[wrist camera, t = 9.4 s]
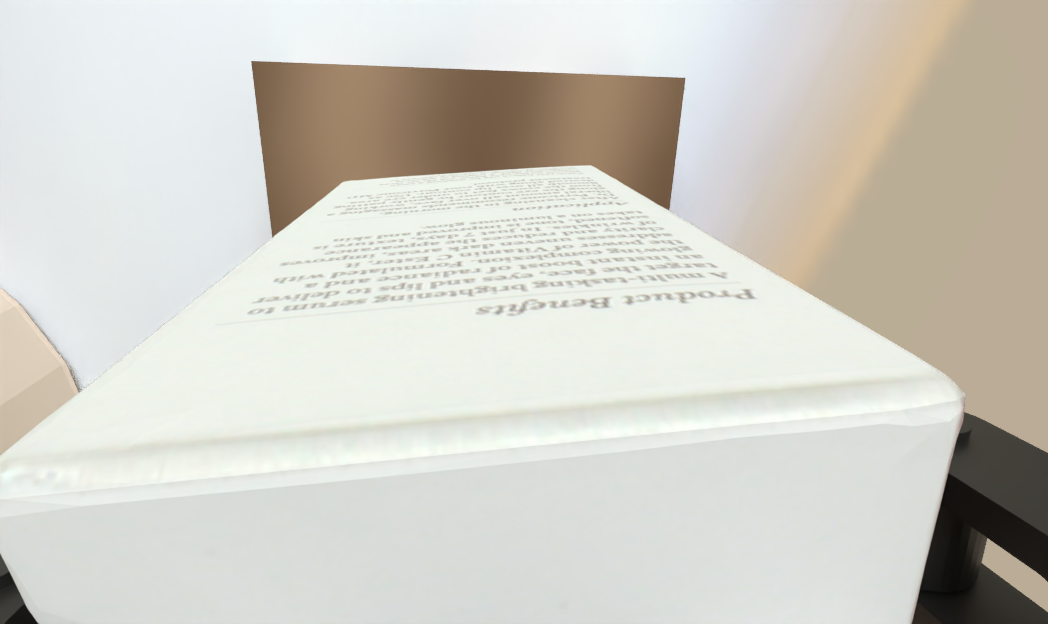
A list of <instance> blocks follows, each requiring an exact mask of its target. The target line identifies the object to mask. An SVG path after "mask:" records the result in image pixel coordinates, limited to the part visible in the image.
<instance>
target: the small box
mask: <svg viewBox="0 0 1048 624" xmlns="http://www.w3.org/2000/svg"><path fill="white" fill-rule="evenodd" d="M964 406H965V394H964V393H963V392H962V391H961V389H960V388H959V387H958V386H957V385H956V384H955V383H954V382H953V381H952V380H951V379H950V378H949V377H948V376H947V375H945V374H944V373H942V372H941V371H939V370H938V369H936V368H934V367H933V366H931V365H930V364H928V363H926V362H924V361H923V360H922V359H920V358H918V357H916V356H915V355H913V354H911V353H910V352H908V351H906V350H905V349H903V348H901V347H899V346H898V345H896V344H894V343H893V342H891V341H889V340H887V339H886V338H884V337H882V336H881V335H879V334H877V333H876V332H874V331H872V330H870V329H869V328H867V327H865V326H864V325H862V324H860V323H859V322H857V321H855V320H854V319H852V318H850V317H849V316H847V315H845V314H844V313H842V312H840V311H838V310H837V309H835V308H834V307H832V306H830V305H828V304H827V303H825V302H823V301H821V300H820V299H818V298H816V297H814V296H813V295H811V294H809V293H807V292H806V291H804V290H802V289H800V288H799V287H797V286H795V285H794V284H792V283H790V282H789V281H787V280H785V279H784V278H782V277H780V276H779V275H777V274H775V273H773V272H772V271H770V270H768V269H766V268H765V267H763V266H761V265H759V264H757V263H756V262H754V261H752V260H751V259H749V258H747V257H746V256H744V255H742V254H741V253H739V252H737V251H736V250H734V249H732V248H731V247H729V246H727V245H726V244H724V243H722V242H721V241H719V240H717V239H716V238H714V237H712V236H711V235H709V234H707V233H706V232H704V231H703V230H701V229H699V228H698V227H696V226H695V225H693V224H691V223H689V222H687V221H685V220H683V219H682V218H680V217H678V216H677V215H675V214H674V213H672V212H671V211H669V210H667V209H665V208H663V207H662V206H660V205H658V204H656V203H655V202H653V201H651V200H650V199H648V198H646V197H645V196H643V195H641V194H640V193H638V192H636V191H634V190H633V189H631V188H629V187H628V186H626V185H624V184H623V183H621V182H619V181H618V180H616V179H614V178H612V177H610V176H609V175H607V174H605V173H604V172H602V171H600V170H599V169H597V168H595V167H593V166H591V165H587V166H561V167H541V168H524V169H507V170H493V171H480V172H464V173H449V174H434V175H419V176H404V177H390V178H379V179H367V180H352V181H345V182H342V183H341V184H340V185H339V186H337V187H336V188H335V189H334V190H332V191H331V192H330V193H329V194H328V195H326V196H325V197H324V198H323V199H321V200H320V201H318V202H317V203H316V204H315V205H314V206H313V207H311V208H310V209H309V210H307V211H306V212H304V213H303V214H302V215H301V216H300V217H298V218H297V219H296V220H295V221H293V222H292V223H291V224H289V225H288V226H287V227H286V228H284V229H283V230H282V231H280V232H279V233H277V234H276V235H275V236H274V237H273V238H272V239H271V240H269V241H268V242H266V243H265V244H264V245H263V246H261V247H260V248H259V249H258V250H257V251H256V252H254V253H253V254H252V255H251V256H250V257H248V258H247V259H246V260H245V261H243V262H242V263H241V264H239V265H238V266H237V267H235V268H234V269H232V270H231V271H230V272H229V273H228V274H227V275H225V276H224V277H223V278H222V279H221V280H220V281H218V282H217V283H215V284H214V285H212V286H211V287H210V288H209V289H208V290H206V291H205V292H204V293H203V294H201V295H200V296H199V297H198V298H196V299H195V300H194V301H193V302H191V303H190V304H189V305H188V306H186V307H185V308H184V309H183V310H182V311H180V312H179V313H178V314H177V315H176V316H175V317H173V318H172V319H171V320H169V321H168V322H166V323H165V324H163V325H162V326H161V327H160V328H159V329H158V330H157V331H156V332H155V333H154V334H152V335H151V336H150V337H148V338H147V339H146V340H144V341H143V342H141V343H140V344H139V345H138V346H137V347H136V348H134V349H133V350H132V351H131V352H129V353H128V354H127V355H126V356H124V357H123V358H122V359H120V360H119V361H118V362H117V363H115V364H114V365H113V366H112V367H110V368H109V369H108V370H106V371H105V372H104V373H103V374H102V375H100V376H99V377H98V378H97V379H96V380H95V381H94V382H92V383H91V384H90V385H88V386H87V387H86V388H85V389H83V390H82V391H81V392H79V393H78V394H77V395H75V396H74V397H73V398H72V399H70V400H69V401H68V402H66V403H65V404H64V405H63V406H61V407H60V408H59V409H57V410H56V411H55V412H53V413H52V414H51V415H50V416H48V417H47V418H46V419H44V420H43V421H42V422H41V423H39V424H38V425H37V426H36V427H35V428H33V429H32V430H31V431H30V432H29V433H27V434H26V435H25V436H24V437H22V438H21V439H20V440H19V441H18V442H16V443H15V444H14V445H13V446H11V447H10V448H9V449H8V450H7V451H5V452H4V453H3V454H2V455H1V456H0V554H1V556H2V558H3V560H4V562H5V564H6V566H7V568H8V570H9V572H10V574H11V576H12V578H13V580H14V582H15V584H16V586H17V588H18V590H19V592H20V594H21V596H22V598H23V600H24V602H25V605H26V607H27V608H28V610H29V611H30V613H31V614H32V615H33V617H34V618H35V620H36V621H37V622H38V624H912V620H913V616H914V612H915V608H916V603H917V599H918V594H919V590H920V586H921V581H922V577H923V573H924V568H925V564H926V560H927V556H928V552H929V548H930V544H931V540H932V536H933V532H934V528H935V524H936V520H937V516H938V512H939V508H940V504H941V500H942V496H943V492H944V488H945V484H946V480H947V476H948V472H949V468H950V464H951V460H952V456H953V452H954V448H955V444H956V440H957V437H958V434H959V431H960V429H961V426H962V423H963V417H964Z"/></svg>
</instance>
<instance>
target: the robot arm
mask: <svg viewBox="0 0 1048 624" xmlns="http://www.w3.org/2000/svg"><path fill="white" fill-rule="evenodd" d="M987 538H989V539H990V540H991V541H993V542H994V543H996V544H997V545H998V546H1000V547H1001V548H1003V549H1004V550H1006V551H1007V552H1008V553H1010V554H1011V555H1013V556H1014V557H1016V558H1017V559H1019V560H1020V561H1021V562H1023V563H1024V564H1026V565H1027V566H1029V567H1030V568H1032V569H1033V570H1035V571H1036V572H1037V573H1038V574H1040V575H1041V576H1042V577H1043V578H1045V580H1046V581H1047V582H1048V453H1047V452H1045V451H1043V450H1041V449H1039V448H1037V447H1035V446H1033V445H1031V444H1029V443H1027V442H1025V441H1023V440H1021V439H1019V438H1017V437H1015V436H1014V435H1012V434H1010V433H1007V432H1006V431H1004V430H1002V429H1000V428H998V427H996V426H994V425H992V424H990V423H988V422H986V421H984V420H982V419H980V418H978V417H976V416H973V415H970V414H968V413H965V412H964V417H963V423H962V426H961V429H960V431H959V434H958V437H957V440H956V444H955V448H954V452H953V456H952V460H951V464H950V468H949V472H948V476H947V480H946V484H945V488H944V492H943V496H942V500H941V504H940V508H939V512H938V516H937V520H936V524H935V528H934V532H933V536H932V540H931V544H930V548H929V552H928V556H927V560H926V564H925V568H924V573H923V577H922V581H921V586H920V590H919V594H918V599H917V603H916V608H915V612H914V616H913V620H912V624H1048V612H1047V611H1045V610H1044V609H1043V608H1041V607H1040V606H1038V605H1037V604H1036V603H1035V602H1033V601H1032V600H1030V599H1029V598H1028V597H1026V596H1025V595H1024V594H1022V593H1021V592H1020V591H1018V590H1017V589H1016V588H1014V587H1013V586H1011V585H1010V584H1009V583H1008V582H1006V581H1005V580H1003V579H1002V578H1001V577H999V576H998V575H997V574H995V573H994V572H993V571H991V570H990V569H989V568H987V567H986V566H985V565H983V564H982V563H981V562H982V558H983V554H984V549H985V545H986V541H987ZM0 624H38V622H37V621H36V620H35V618H34V617H33V615H32V614H31V613H30V611H29V610H28V608H27V607H26V605H25V602H24V600H23V598H22V596H21V594H20V592H19V590H18V588H17V586H16V584H15V582H14V580H13V578H12V576H11V574H10V572H9V570H8V568H7V566H6V564H5V562H4V560H3V558H2V556H1V554H0Z"/></svg>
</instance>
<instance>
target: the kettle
mask: <svg viewBox="0 0 1048 624" xmlns="http://www.w3.org/2000/svg"><path fill="white" fill-rule="evenodd" d="M78 393H79V392H78V389H77V387H76V385H75V383H74V380H73V378H72V376H71V373H70V371H69V369H68V367H67V364H66V363H65V361H64V360H63V359H62V358H61V356H60V355H59V354H58V352H57V351H56V350H55V349H54V347H53V346H52V345H51V344H50V342H49V341H48V340H47V338H46V337H45V336H44V335H43V333H42V332H41V331H40V329H39V328H38V327H37V326H36V324H35V323H34V322H33V321H32V319H31V318H30V317H29V315H28V314H27V313H26V312H25V310H24V309H23V308H22V307H21V305H20V304H19V303H18V302H17V301H15V300H14V299H13V298H12V297H11V296H9V295H8V294H7V293H6V292H5V291H3V290H2V289H1V288H0V456H1V455H2V454H3V453H4V452H5V451H7V450H8V449H9V448H10V447H11V446H13V445H14V444H15V443H16V442H18V441H19V440H20V439H21V438H22V437H24V436H25V435H26V434H27V433H29V432H30V431H31V430H32V429H33V428H35V427H36V426H37V425H38V424H39V423H41V422H42V421H43V420H44V419H46V418H47V417H48V416H50V415H51V414H52V413H53V412H55V411H56V410H57V409H59V408H60V407H61V406H63V405H64V404H65V403H66V402H68V401H69V400H70V399H72V398H73V397H74V396H75V395H77V394H78Z"/></svg>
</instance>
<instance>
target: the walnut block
mask: <svg viewBox="0 0 1048 624" xmlns="http://www.w3.org/2000/svg"><path fill="white" fill-rule="evenodd" d="M251 62H252V71H253V79H254V87H255V96H256V104H257V112H258V121H259V129H260V137H261V146H262V154H263V162H264V171H265V179H266V187H267V196H268V204H269V212H270V221H271V229H272V237H274V236H275V235H276V234H277V233H279V232H280V231H282V230H283V229H284V228H286V227H287V226H288V225H289V224H291V223H292V222H293V221H295V220H296V219H297V218H298V217H300V216H301V215H302V214H303V213H304V212H306V211H307V210H309V209H310V208H311V207H313V206H314V205H315V204H316V203H317V202H318V201H320V200H321V199H323V198H324V197H325V196H326V195H328V194H329V193H330V192H331V191H332V190H334V189H335V188H336V187H337V186H339V185H340V184H341V183H342V182H345V181H352V180H367V179H379V178H390V177H404V176H419V175H434V174H449V173H464V172H480V171H493V170H507V169H524V168H541V167H561V166H587V165H591V166H593V167H595V168H597V169H599V170H600V171H602V172H604V173H605V174H607V175H609V176H610V177H612V178H614V179H616V180H618V181H619V182H621V183H623V184H624V185H626V186H628V187H629V188H631V189H633V190H634V191H636V192H638V193H640V194H641V195H643V196H645V197H646V198H648V199H650V200H651V201H653V202H655V203H656V204H658V205H660V206H662V207H663V208H665V209H667V210H669V207H670V199H671V191H672V183H673V174H674V166H675V158H676V150H677V142H678V134H679V125H680V117H681V109H682V101H683V93H684V85H685V78H672V77H646V76H620V75H595V74H569V73H543V72H517V71H491V70H466V69H440V68H414V67H388V66H362V65H337V64H311V63H285V62H259V61H251Z"/></svg>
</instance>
